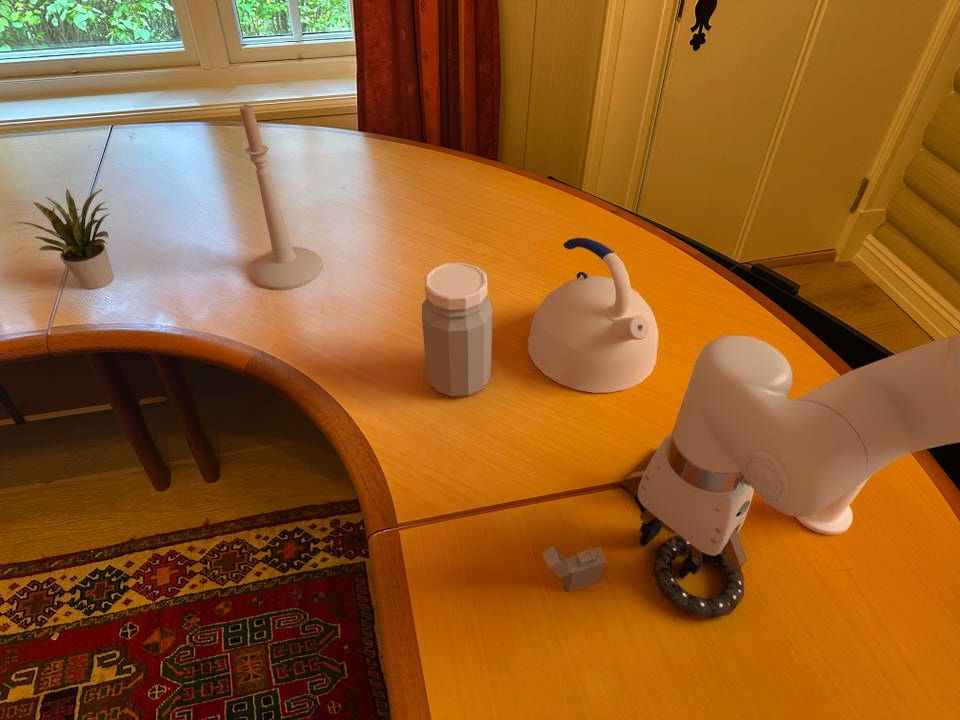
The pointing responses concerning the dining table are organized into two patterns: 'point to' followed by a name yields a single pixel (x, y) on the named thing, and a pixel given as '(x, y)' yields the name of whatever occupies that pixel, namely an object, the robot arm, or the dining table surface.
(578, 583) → the lighter
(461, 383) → the jar
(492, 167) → the dining table surface
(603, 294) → the kettle
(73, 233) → the house plant
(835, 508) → the candle
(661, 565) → the studded rubber donut
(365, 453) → the dining table surface
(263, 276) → the candlestick
